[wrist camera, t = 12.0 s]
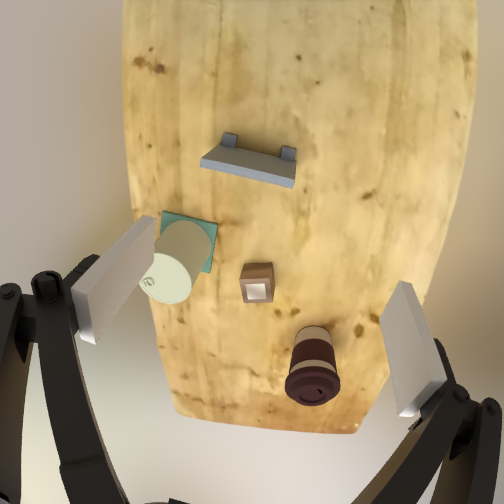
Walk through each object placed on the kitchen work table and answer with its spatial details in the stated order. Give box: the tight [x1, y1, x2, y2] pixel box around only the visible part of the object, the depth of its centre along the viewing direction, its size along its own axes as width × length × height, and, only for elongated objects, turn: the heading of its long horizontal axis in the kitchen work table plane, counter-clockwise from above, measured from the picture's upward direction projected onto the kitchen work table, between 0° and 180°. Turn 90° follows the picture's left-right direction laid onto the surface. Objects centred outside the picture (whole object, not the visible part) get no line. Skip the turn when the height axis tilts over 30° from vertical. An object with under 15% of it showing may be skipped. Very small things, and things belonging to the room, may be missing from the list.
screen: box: [200, 133, 296, 189], centre depth 44 cm, size 5×12×10 cm, turn 79°
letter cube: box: [239, 263, 275, 303], centre depth 56 cm, size 5×5×5 cm
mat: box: [160, 211, 218, 273], centre depth 57 cm, size 10×10×1 cm
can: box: [139, 220, 211, 304], centre depth 51 cm, size 9×9×12 cm
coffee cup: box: [285, 326, 340, 406], centre depth 58 cm, size 10×10×15 cm
